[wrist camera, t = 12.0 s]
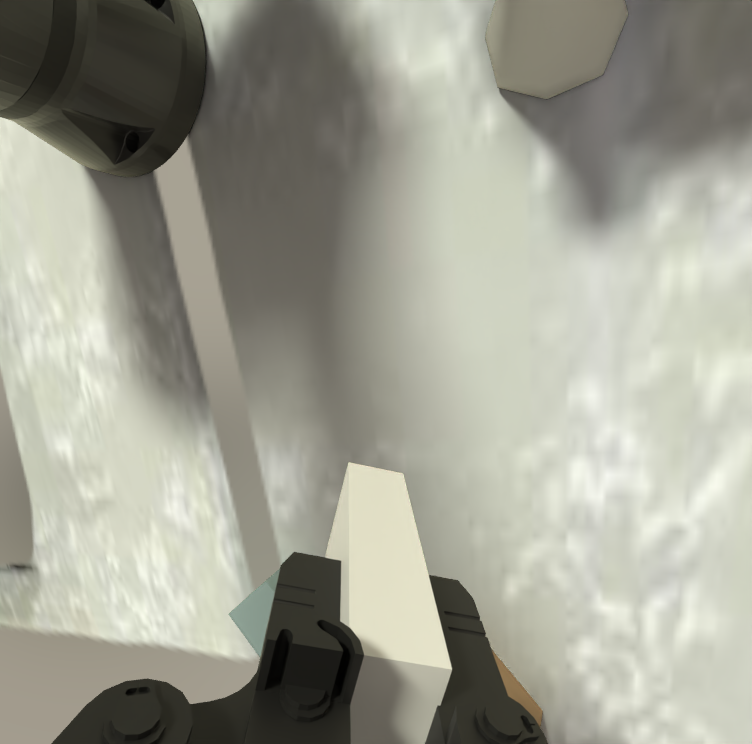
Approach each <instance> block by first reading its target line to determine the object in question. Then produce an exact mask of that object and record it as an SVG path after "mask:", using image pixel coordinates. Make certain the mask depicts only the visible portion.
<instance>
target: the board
mask: <svg viewBox="0 0 752 744" xmlns="http://www.w3.org/2000/svg"><path fill="white" fill-rule="evenodd" d="M279 572H280V569H279V570H278V571H277V572H275V573H274V574H273V575H272V576H271V577H270V578H268V579H267V580H266V581H265V582H264V583H263V584H262V585H261V586H259V587H258V588H257V589H256V590H255V591H254V592H253V593H252V594H250V595H249V596H248V597H247V598H246V599H245V600H244V601H243V602H241V603H240V604H239V605H238V606H237V607H236V608H235V609H234V610H232V611H231V612H230V613H229V616H230V617H231V618H232V620H233V621H234V622H235V624H236V625H237V627H238V628H239V629H240V631H241V632H242V633H243V635H244V636H245V638H246V639H247V640H248V642H249V643H250V644H251V646H252V647H253V649H254V650H255V651H256V653H257V654H258V655H259V657H260V656H261V652H262V647H263V642H264V638H265V633H266V628H267V624H268V620H269V615H270V611H271V606H272V602H273V598H274V593H275V589H276V585H277V580H278V576H279Z"/></svg>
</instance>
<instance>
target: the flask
mask: <svg viewBox="0 0 752 744" xmlns="http://www.w3.org/2000/svg"><path fill="white" fill-rule="evenodd" d="M627 17H628V11H627V7H626V3H625V0H495V4H494V7H493V11H492V14H491V17H490V21H489V24H488V27H487V31H486V35H485V39H486V43H487V47H488V51H489V55H490V59H491V63H492V67H493V71H494V75H495V79H496V83H497V86H498V88H502V89H506V90H510V91H514V92H518V93H523V94H527V95H531V96H535V97H539V98H543V99H549V98H551V97H554V96H556V95H558V94H560V93H563V92H565V91H567V90H570V89H572V88H574V87H576V86H579V85H581V84H583V83H586V82H588V81H590V80H593V79H595V78H597V77H599V76H602V75H603V74H604V72H605V69H606V67H607V64H608V62H609V60H610V57H611V55H612V53H613V50H614V48H615V45H616V43H617V41H618V38H619V36H620V33H621V31H622V29H623V26H624V24H625V21H626V19H627Z"/></svg>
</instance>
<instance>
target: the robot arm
mask: <svg viewBox="0 0 752 744" xmlns="http://www.w3.org/2000/svg"><path fill="white" fill-rule="evenodd" d="M205 64H206V58H205V44H204V37H203V31H202V27H201V23H200V19H199V16H198V13H197V11H196V8H195V6H194V3H193V1H192V0H0V117H2V118H6V119H9V120H12V121H14V122H16V123H17V124H19V125H20V126H22V127H23V128H25V129H27V130H28V131H30V132H31V133H33V134H34V135H36V136H37V137H39V138H41V139H42V140H44V141H45V142H47V143H48V144H50V145H52V146H53V147H55V148H56V149H58V150H59V151H61V152H62V153H64V154H66V155H67V156H69V157H70V158H72V159H73V160H75V161H76V162H78V163H80V164H82V165H84V166H86V167H89V168H91V169H94V170H98V171H101V172H105V173H109V174H113V175H118V176H124V177H134V176H140V175H143V174H146V173H149V172H151V171H153V170H155V169H157V168H158V167H160V166H161V165H163V164H164V163H165V162H166V161H167V160H168V159H169V158H171V156H172V155H173V154H174V153H175V152H176V151H177V150H178V148H179V147H180V146H181V144H182V143H183V141H184V140H185V138H186V137H187V135H188V133H189V131H190V129H191V127H192V125H193V123H194V120H195V118H196V115H197V112H198V109H199V106H200V102H201V98H202V93H203V88H204V80H205ZM485 634H486V633H485V630H484V627H483V625H482V622H481V621H480V616H479V613H478V611H477V608H476V605H475V602H474V600H473V598H472V596H471V595H470V594H469V593H468V592H467V591H466V589H465V588H464V587H463V586H462V585H461V583H460V582H459V581H458V580H453V579H447V578H442V577H437V576H431V575H428V571H427V567H426V563H425V559H424V555H423V551H422V547H421V543H420V539H419V535H418V531H417V527H416V523H415V519H414V515H413V511H412V507H411V503H410V499H409V495H408V491H407V487H406V483H405V479H404V475H403V473H398V472H394V471H389V470H384V469H379V468H374V467H369V466H365V465H360V464H355V463H350V462H348V466H347V470H346V474H345V478H344V482H343V486H342V490H341V494H340V498H339V502H338V506H337V510H336V514H335V518H334V522H333V526H332V530H331V534H330V538H329V542H328V546H327V550H326V558H324V557H319V556H313V555H308V554H302V553H297V552H294V553H293V554H292V555H291V556H290V557H289V558H288V559H287V560H286V561H285V562H284V563H283V564H282V565H281V567H280V572H279V576H278V580H277V585H276V589H275V593H274V598H273V602H272V606H271V611H270V615H269V620H268V624H267V628H266V633H265V638H264V642H263V647H262V652H261V656H260V661H259V666H258V670H257V673H256V674H255V675H254V677H253V678H252V679H251V681H250V682H249V683H248V684H247V685H246V686H245V687H243V688H242V689H241V690H239V691H238V692H236V693H234V694H232V695H230V696H228V697H226V698H222V699H218V700H214V701H210V702H203V703H197V704H189V702H188V700H187V699H186V697H185V696H184V694H183V692H181V691H180V690H178V689H176V688H175V687H173V686H172V685H170V684H169V683H167V682H162V681H157V680H152V679H140V680H133V681H125V682H123V683H120V684H118V685H116V686H114V687H111V688H109V689H106V690H104V691H103V692H102V693H100V694H99V695H98V696H97V697H96V698H94V699H93V700H92V701H91V702H89V703H88V704H87V705H86V706H85V707H84V708H83V709H82V710H81V712H80V713H79V714H78V715H77V716H76V717H75V718H74V719H73V720H72V721H71V723H70V724H69V725H68V726H67V727H66V728H65V729H64V730H63V732H62V733H61V734H60V735H59V736H58V737H57V738H56V739H55V740H54V741H53V743H52V744H548V743H547V741H546V738H545V736H544V733H543V732H542V730H541V728H540V727H539V725H538V723H537V721H536V720H535V718H534V717H533V716H532V715H531V714H530V713H529V712H528V711H527V710H526V709H525V708H524V707H523V706H522V705H521V704H520V703H518V702H517V701H515V700H514V699H512V698H511V697H509V696H508V694H507V691H506V688H505V685H504V683H503V680H502V677H501V674H500V672H499V669H498V666H497V663H496V660H495V658H494V655H493V652H492V649H491V647H490V644H489V641H488V638H487V637H485Z"/></svg>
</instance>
